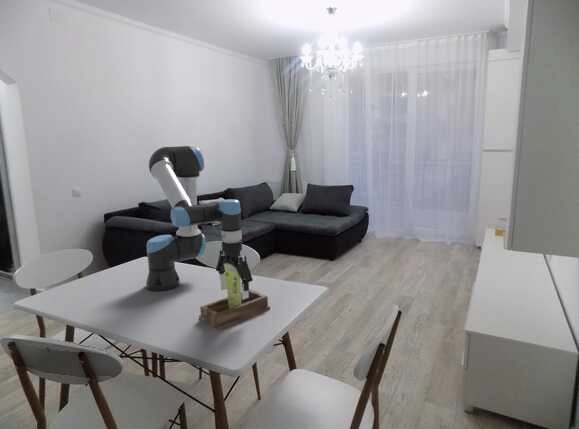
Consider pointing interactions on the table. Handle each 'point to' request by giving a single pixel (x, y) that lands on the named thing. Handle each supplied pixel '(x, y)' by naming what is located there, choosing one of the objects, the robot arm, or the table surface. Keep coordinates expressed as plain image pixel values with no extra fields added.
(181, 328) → the table surface
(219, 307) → the tray
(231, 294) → the tube
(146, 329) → the table surface
